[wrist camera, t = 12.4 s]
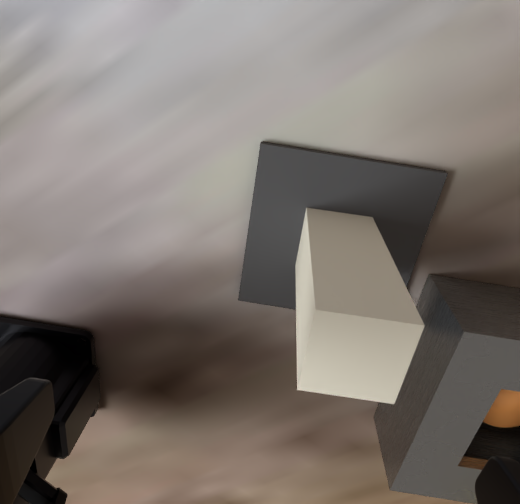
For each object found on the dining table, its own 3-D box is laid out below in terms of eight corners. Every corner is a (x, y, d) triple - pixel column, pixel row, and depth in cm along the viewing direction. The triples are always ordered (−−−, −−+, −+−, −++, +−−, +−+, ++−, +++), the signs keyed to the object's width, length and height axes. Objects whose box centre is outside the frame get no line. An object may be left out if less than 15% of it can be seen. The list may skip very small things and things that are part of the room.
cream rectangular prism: (295, 265, 19) (296, 389, 12) (306, 207, 18) (315, 309, 11) (356, 274, 19) (394, 404, 12) (372, 217, 18) (424, 325, 11)
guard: (373, 417, 24) (389, 490, 20) (429, 274, 20) (464, 331, 16) (538, 443, 24) (587, 521, 20) (631, 306, 20) (718, 372, 16)
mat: (239, 296, 21) (238, 300, 21) (261, 141, 17) (260, 143, 17) (391, 320, 21) (392, 325, 21) (444, 171, 17) (447, 173, 17)
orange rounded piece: (450, 391, 22) (464, 421, 20) (474, 343, 21) (491, 371, 19) (511, 401, 22) (530, 432, 20) (539, 354, 21) (562, 383, 19)
